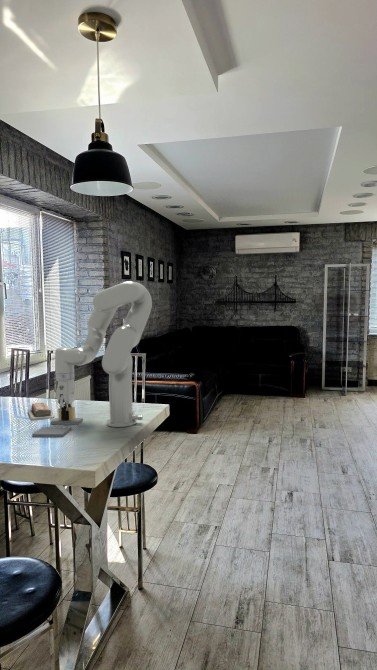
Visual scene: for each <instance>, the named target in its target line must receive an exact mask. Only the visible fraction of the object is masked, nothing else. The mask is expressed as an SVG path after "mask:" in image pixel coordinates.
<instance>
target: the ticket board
mask: <svg viewBox="0 0 377 670" xmlns="http://www.w3.org/2000/svg"><path fill="white" fill-rule="evenodd" d="M72 429H73V428H72V426H42V427H40V428H39V429H38V430H36V431H35V432H33V433H32V434H31V437H32V438H64V437H65V436H66V435H68V434H69V433H70V432H71V431H72Z"/></svg>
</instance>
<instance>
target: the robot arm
mask: <svg viewBox="0 0 377 670" xmlns="http://www.w3.org/2000/svg"><path fill="white" fill-rule="evenodd" d="M128 304H131V307H130V309H129V311H128V313H127V315H126V317H125V321H124V323H123V324H122V326H119V327H118V328H116V329H115V330H114V331H113V333H112V334H111V336H110V338H109V341H108V344H107V345H106V348H105V351H104V352H103V353H104V354H103V356H102V359H101V367H102V369H103V371H104V372H105V373H106V374H108V397H109V419H107V420H106V422H105V423H106V424H105V425H107V426H108V427H111V428H123V427H124V428H125V427H130V426H134V425H135V424H137V421H143V420H144V418H143V417H144V416H143V414H136V413H135V411H134V410H133V383H132V382H133V379H132V378H133V364H134V363H133V362H134V361H133V357H132V354H131V352H132V350H133V348H135V347H136V346H138V345H139V343H140V341H141V338H142V335H143V333H144V330H145V327H146V325H147V321H148V319H149V316H150V314H151V312H152V308H153V307H152V306H153V300H152V296H151V294H150V292H149V290H148V289H147V287H145V286H144V285H143V284H142V283H140V282H137V281H131V280H130V281H122V282H121V283H119V284H116V285H113V286H110V287H108V288H105V289H103V290H100V291H97V292H96V294H95V295H94V296H93V299H92V305H93V309H92V312H91V314H90V315H89V317H88V320H87V323H86V325H87V330H88V331H87V336H86V338H85V341H84V342H83V344H82V346H80V347H75V348H72V347H70V346H68V347H57V348H56V349H55V351H54V356H55V359H54V361H55V378H56V379H55V381H57V388H56V389H57V397H56V398H57V404H58V405H59V408H61V420H69V411H68V407H73V402H75V401H76V399H77V398H76V397H77V396H76V395H77V394H76V385H75V366H80V367H81V366H84V365H86V364H89V363H91V362H93V361H94V360H95V358H96V357H97V355H98V353H99V351H100V349H101V347H102V345H103V343H104V339H105V335H106V331H107V329H108V327H109V325H110V323H111V322H112V320H113V318H114V316H115V313H116V311H117V310H118V308H120V307H123V306H125V305H128Z"/></svg>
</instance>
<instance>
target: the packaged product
mask: <svg viewBox="0 0 377 670" xmlns="http://www.w3.org/2000/svg"><path fill="white" fill-rule="evenodd" d="M30 406H31V407H30V409H28V410H27V413H28V417H29V419H30V420H31V422H32V421H42V420H51V419H55V418H56V416H55V415H54V414H53V412H52V410H51V409H50V408H49V406H48V405H47V403H45V402H36V403H31V405H30Z"/></svg>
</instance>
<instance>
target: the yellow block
mask: <svg viewBox="0 0 377 670" xmlns="http://www.w3.org/2000/svg"><path fill="white" fill-rule="evenodd" d="M75 410H76V409H75V407H74V406H72V407H68V411H69V420H61V408H60V407H59V408H58V411H57V412H58V413H57V414H58V417H54V418H52V420H50V425H79V424H81V422H84V418H83V417H76V414H75V413H76V412H75Z"/></svg>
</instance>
